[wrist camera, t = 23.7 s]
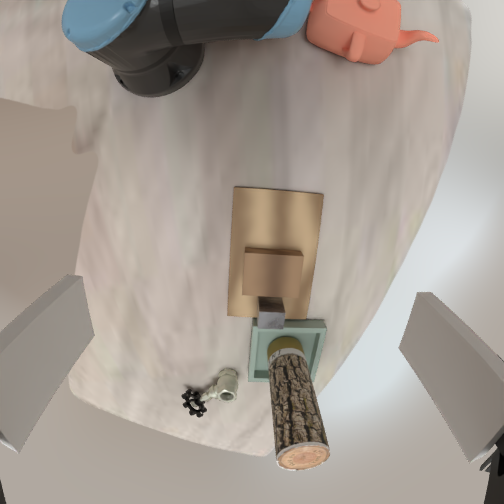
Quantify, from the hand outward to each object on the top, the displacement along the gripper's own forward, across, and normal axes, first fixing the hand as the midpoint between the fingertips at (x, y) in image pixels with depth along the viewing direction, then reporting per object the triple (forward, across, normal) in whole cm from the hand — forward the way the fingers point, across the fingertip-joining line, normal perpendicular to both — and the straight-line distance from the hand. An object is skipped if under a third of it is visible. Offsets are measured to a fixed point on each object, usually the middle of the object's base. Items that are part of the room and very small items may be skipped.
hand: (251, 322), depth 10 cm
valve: (+35, -5, -39) cm, 53 cm away
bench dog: (+35, +5, -18) cm, 40 cm away
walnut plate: (+35, +4, -12) cm, 37 cm away
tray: (+35, +8, -28) cm, 46 cm away
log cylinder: (+35, +8, -28) cm, 46 cm away
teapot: (+37, +15, +30) cm, 50 cm away
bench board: (+36, +5, -10) cm, 38 cm away
